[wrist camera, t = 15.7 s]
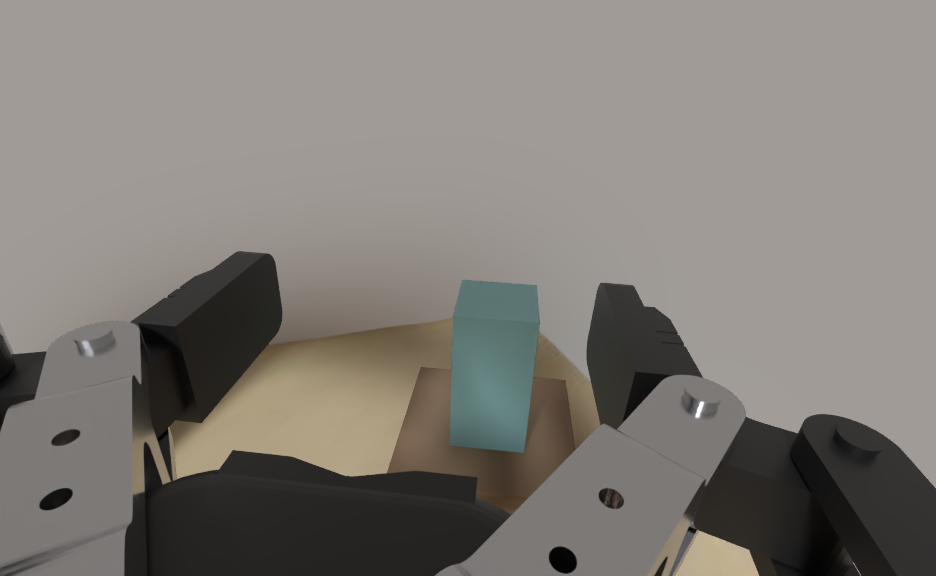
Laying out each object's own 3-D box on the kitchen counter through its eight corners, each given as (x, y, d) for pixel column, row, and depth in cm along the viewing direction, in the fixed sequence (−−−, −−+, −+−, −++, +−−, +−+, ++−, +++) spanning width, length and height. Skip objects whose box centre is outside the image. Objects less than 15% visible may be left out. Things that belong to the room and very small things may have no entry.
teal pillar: (449, 445, 32) (453, 315, 28) (457, 397, 36) (462, 279, 32) (524, 452, 32) (539, 322, 27) (523, 403, 36) (536, 285, 32)
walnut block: (387, 536, 31) (384, 481, 29) (421, 413, 42) (420, 367, 40) (571, 557, 30) (582, 502, 28) (558, 427, 41) (565, 380, 39)
